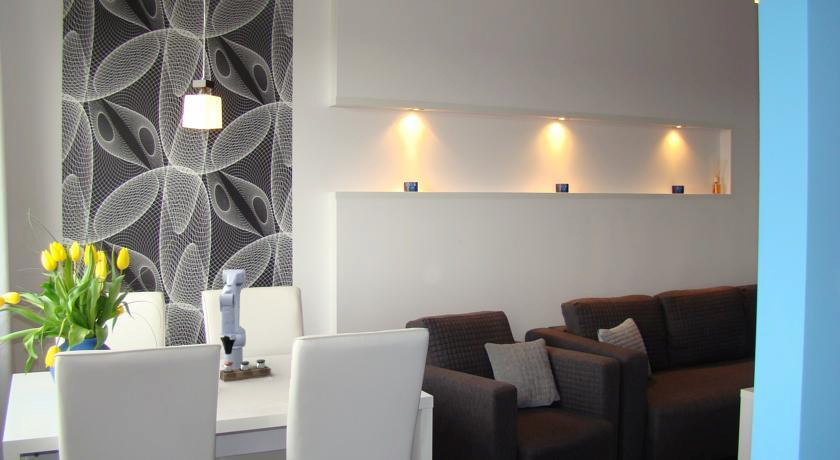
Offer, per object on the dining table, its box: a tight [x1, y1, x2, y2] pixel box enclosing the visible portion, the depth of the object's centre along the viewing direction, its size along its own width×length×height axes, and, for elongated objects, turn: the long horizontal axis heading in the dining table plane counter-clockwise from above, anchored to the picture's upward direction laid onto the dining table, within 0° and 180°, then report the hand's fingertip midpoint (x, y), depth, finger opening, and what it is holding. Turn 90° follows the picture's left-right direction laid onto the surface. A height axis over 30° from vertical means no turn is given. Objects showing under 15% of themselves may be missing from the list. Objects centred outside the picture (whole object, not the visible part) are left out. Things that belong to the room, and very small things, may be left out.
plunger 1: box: [241, 360, 250, 371], centre depth 309 cm, size 4×4×6 cm
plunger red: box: [223, 361, 233, 373], centre depth 306 cm, size 4×4×6 cm
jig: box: [219, 365, 272, 382], centre depth 309 cm, size 8×20×3 cm, turn 121°
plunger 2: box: [256, 358, 266, 369], centre depth 313 cm, size 4×4×6 cm
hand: (228, 354), depth 306 cm, fingers closed
